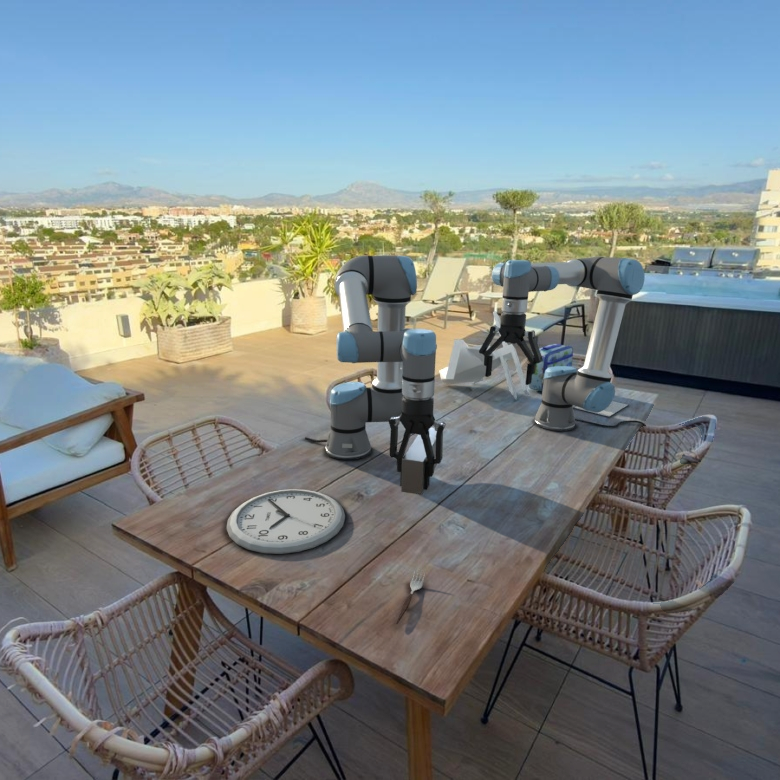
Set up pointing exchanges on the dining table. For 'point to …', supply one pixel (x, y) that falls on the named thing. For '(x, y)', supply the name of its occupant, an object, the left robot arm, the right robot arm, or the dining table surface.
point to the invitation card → (609, 409)
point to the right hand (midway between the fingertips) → (507, 380)
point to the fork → (414, 586)
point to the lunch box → (551, 362)
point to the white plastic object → (480, 363)
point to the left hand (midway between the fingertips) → (414, 485)
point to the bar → (416, 465)
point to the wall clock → (285, 521)
